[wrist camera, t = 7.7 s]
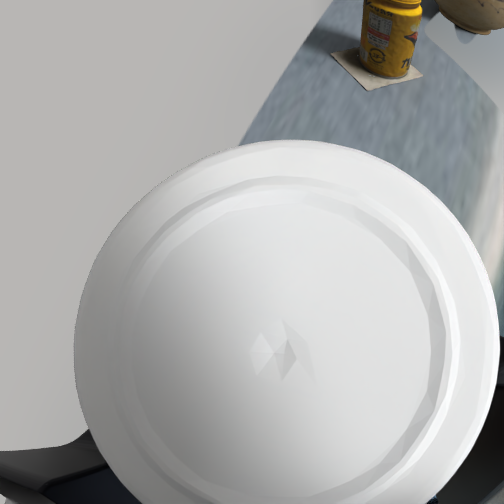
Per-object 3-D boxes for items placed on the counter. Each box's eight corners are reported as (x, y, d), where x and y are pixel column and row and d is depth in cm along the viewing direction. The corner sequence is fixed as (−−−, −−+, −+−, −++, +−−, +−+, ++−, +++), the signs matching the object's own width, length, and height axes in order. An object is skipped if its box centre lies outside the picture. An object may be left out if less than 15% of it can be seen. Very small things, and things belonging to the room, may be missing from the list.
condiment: (423, 76, 28) (445, -7, 16) (367, 92, 28) (380, -6, 17) (384, 43, 30) (394, -35, 19) (330, 55, 30) (329, -32, 19)
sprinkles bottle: (318, 293, 16) (349, 73, 3) (361, 369, 14) (564, 402, 2) (239, 336, 16) (24, 254, 3) (280, 414, 14) (178, 599, 2)
